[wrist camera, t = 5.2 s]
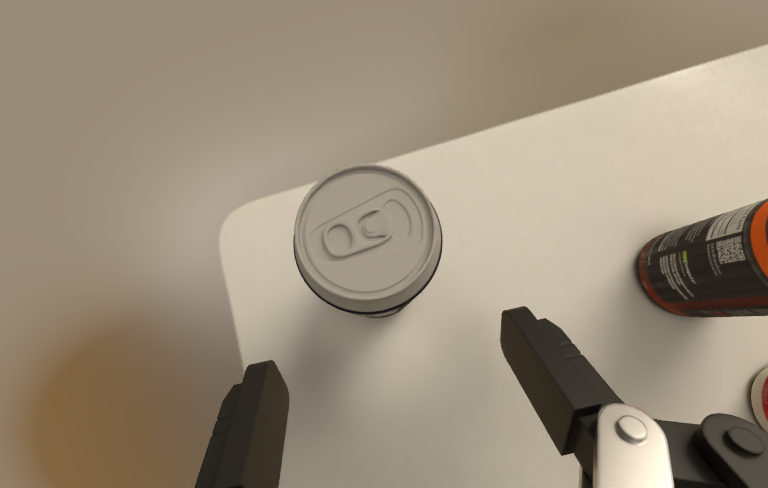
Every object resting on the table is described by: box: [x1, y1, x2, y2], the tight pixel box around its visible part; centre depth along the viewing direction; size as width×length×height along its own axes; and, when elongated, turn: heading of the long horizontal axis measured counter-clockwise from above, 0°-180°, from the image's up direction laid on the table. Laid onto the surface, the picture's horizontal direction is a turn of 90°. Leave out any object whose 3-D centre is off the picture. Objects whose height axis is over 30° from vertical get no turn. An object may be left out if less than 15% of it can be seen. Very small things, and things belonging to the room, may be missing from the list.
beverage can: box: [294, 164, 442, 318], centre depth 17 cm, size 6×6×12 cm
